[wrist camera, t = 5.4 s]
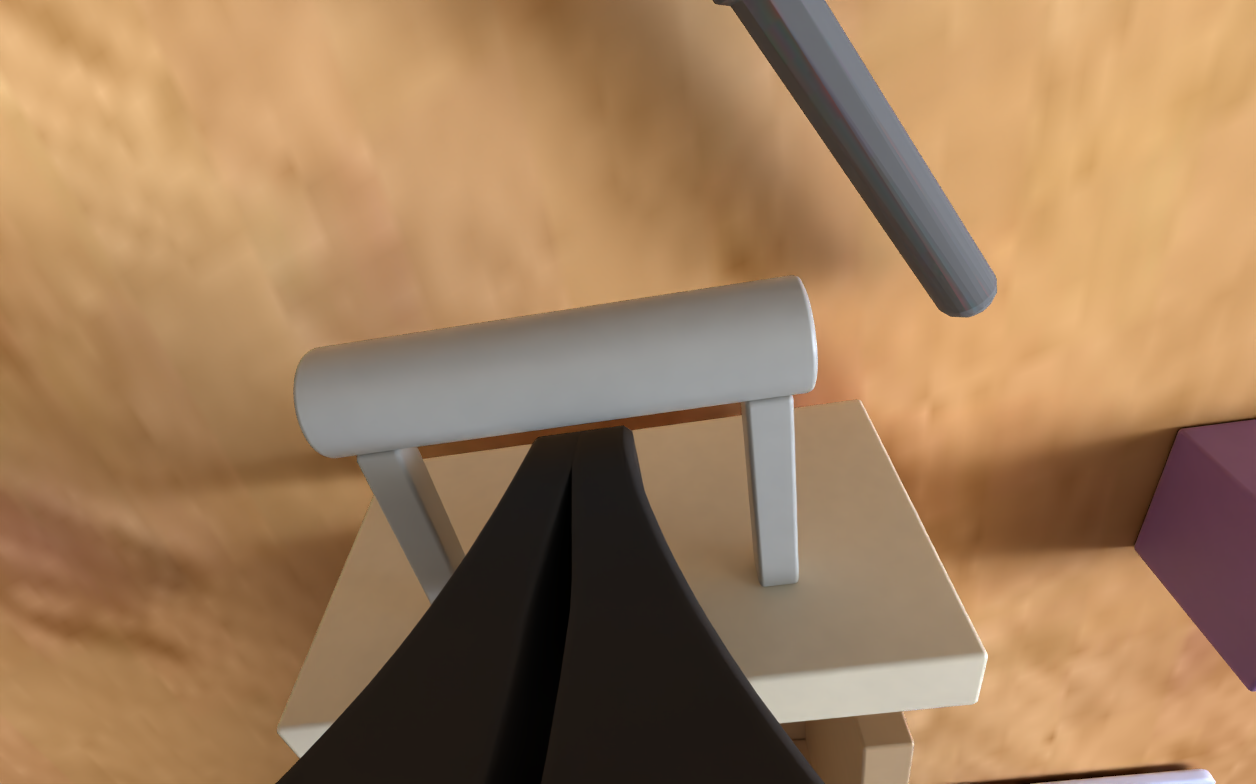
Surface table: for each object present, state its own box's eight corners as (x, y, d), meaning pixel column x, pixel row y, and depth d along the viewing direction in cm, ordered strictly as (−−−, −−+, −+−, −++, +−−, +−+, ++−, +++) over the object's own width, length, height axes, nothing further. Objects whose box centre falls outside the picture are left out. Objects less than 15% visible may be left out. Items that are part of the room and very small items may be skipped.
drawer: (280, 246, 12) (50, 477, 7) (871, 149, 11) (1068, 333, 6) (521, 742, 21) (493, 985, 16) (848, 709, 20) (919, 955, 15)
